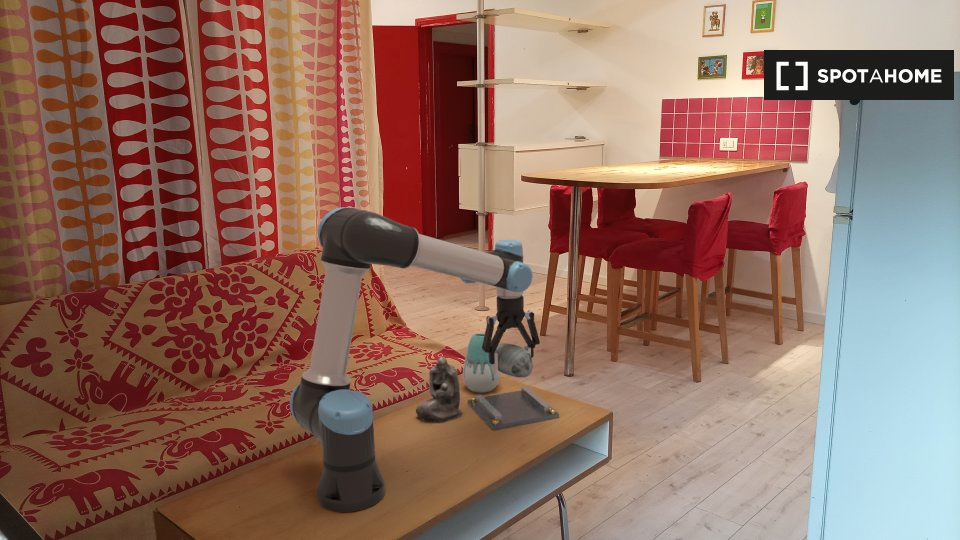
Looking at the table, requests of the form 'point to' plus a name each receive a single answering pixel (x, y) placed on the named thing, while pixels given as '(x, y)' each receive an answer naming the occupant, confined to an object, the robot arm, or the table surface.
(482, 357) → the vase
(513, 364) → the grey rock
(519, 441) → the table surface
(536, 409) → the carrier
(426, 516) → the table surface
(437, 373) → the figurine
